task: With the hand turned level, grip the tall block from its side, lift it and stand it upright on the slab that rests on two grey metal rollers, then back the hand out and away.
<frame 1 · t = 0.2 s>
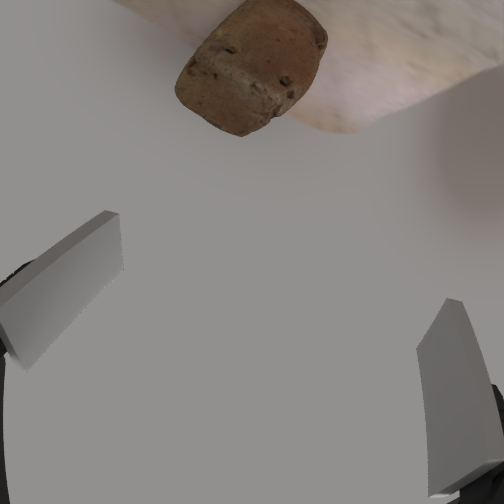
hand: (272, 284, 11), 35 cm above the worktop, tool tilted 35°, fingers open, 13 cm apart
block: (289, 22, 31), on the worktop
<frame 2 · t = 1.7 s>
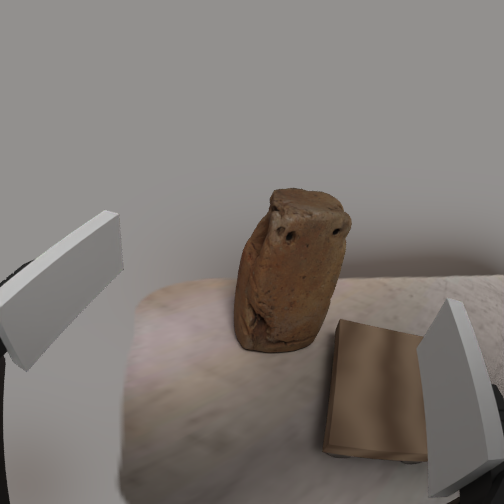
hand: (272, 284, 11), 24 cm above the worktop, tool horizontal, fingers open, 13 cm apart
slab: (376, 405, 33), on the worktop
block: (271, 337, 42), on the worktop
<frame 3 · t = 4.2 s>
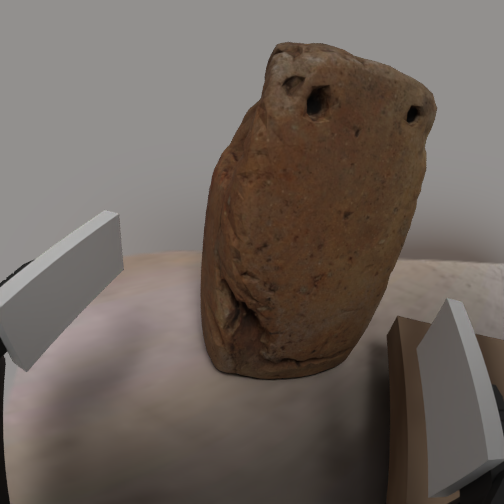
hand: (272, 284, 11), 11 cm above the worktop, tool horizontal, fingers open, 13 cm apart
slab: (453, 467, 14), on the worktop
block: (271, 348, 23), on the worktop
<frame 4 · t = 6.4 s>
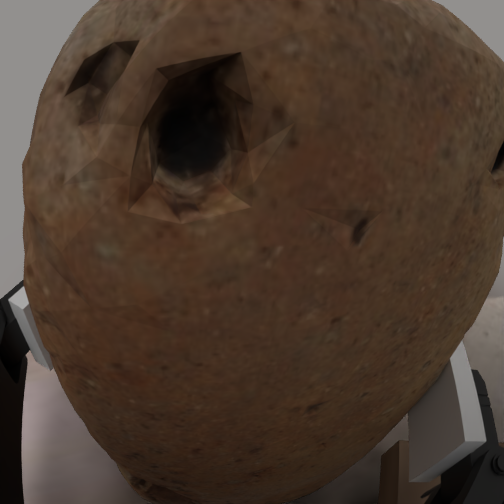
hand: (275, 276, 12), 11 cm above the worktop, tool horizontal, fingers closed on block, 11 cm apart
block: (224, 462, 15), on the worktop, touching gripper
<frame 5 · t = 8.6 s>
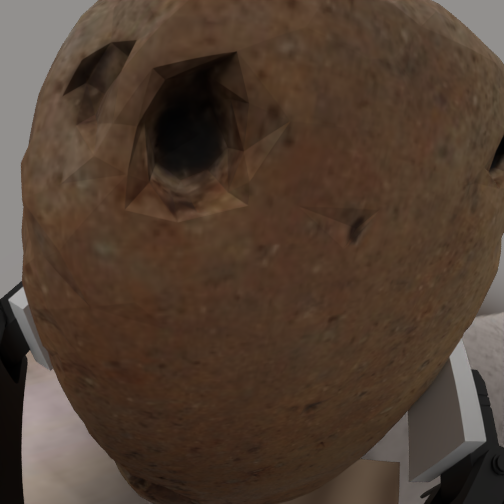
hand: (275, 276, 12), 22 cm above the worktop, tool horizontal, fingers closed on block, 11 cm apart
block: (224, 461, 15), point 11 cm above the worktop, touching gripper
when the fingers open (17 cm above the worktop, at t = 10.8 s): block drops 1 cm, resting on slab.
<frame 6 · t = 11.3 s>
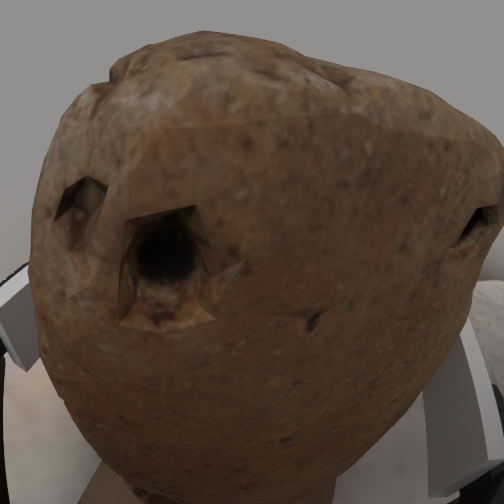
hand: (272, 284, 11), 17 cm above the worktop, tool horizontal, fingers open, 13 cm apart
slab: (215, 497, 17), on the worktop
block: (221, 469, 16), point 5 cm above the worktop, touching slab
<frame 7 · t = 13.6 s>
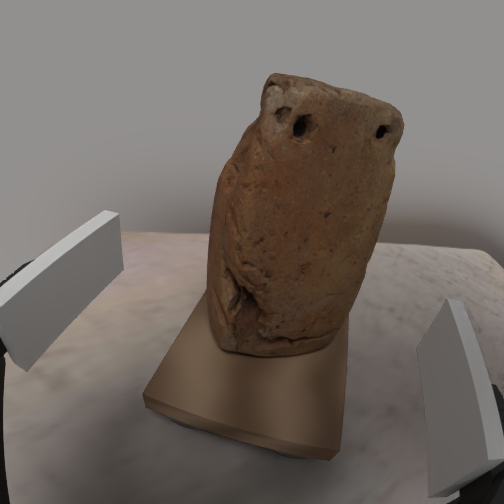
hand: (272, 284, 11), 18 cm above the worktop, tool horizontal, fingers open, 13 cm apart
slab: (259, 372, 29), on the worktop
block: (268, 332, 27), point 5 cm above the worktop, touching slab
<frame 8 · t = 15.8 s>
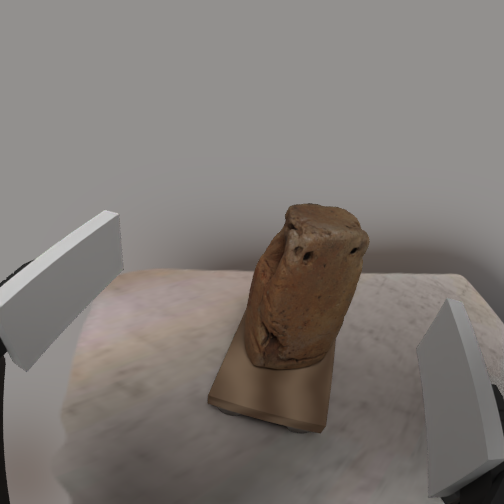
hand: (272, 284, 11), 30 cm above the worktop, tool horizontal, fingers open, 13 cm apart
slab: (275, 378, 43), on the worktop
block: (282, 352, 41), point 5 cm above the worktop, touching slab
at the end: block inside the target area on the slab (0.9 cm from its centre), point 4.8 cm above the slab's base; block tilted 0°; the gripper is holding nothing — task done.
